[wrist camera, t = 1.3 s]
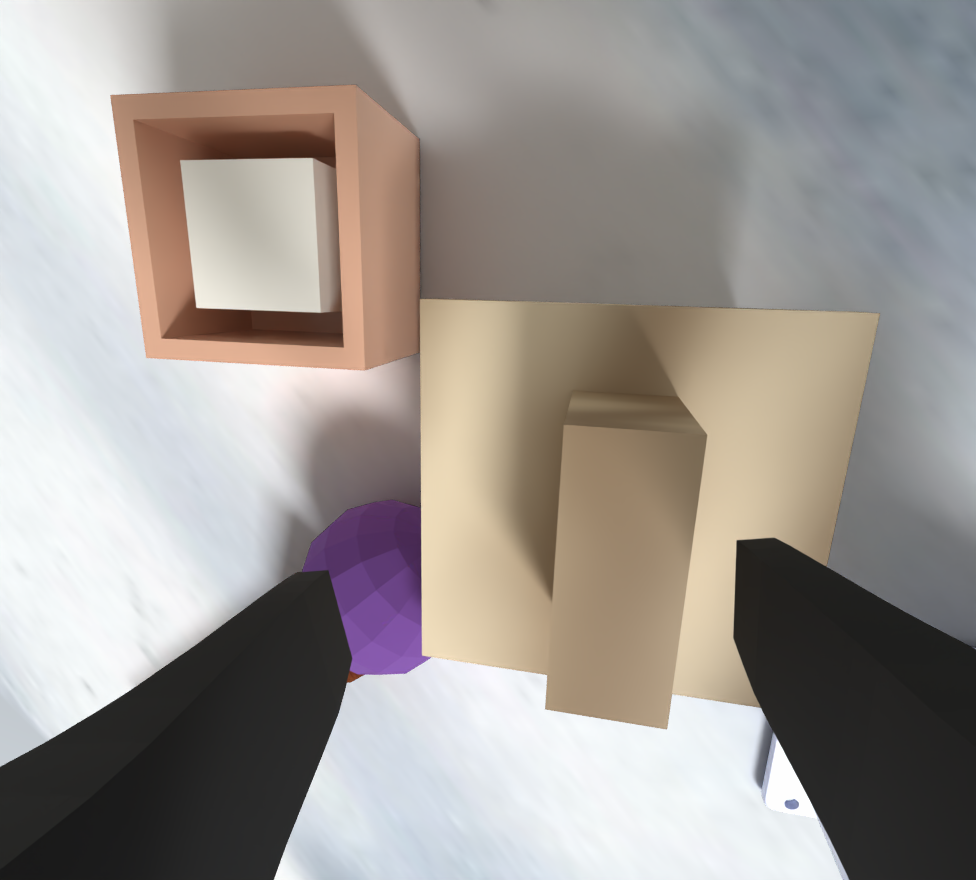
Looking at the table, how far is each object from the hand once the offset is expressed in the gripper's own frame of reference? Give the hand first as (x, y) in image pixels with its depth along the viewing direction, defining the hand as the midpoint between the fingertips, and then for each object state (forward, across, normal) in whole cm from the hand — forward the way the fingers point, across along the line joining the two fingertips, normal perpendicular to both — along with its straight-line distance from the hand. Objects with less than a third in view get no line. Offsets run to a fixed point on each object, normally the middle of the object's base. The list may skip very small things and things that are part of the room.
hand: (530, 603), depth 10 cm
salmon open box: (+12, +7, -6) cm, 15 cm away
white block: (+12, +7, -6) cm, 15 cm away
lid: (+5, -2, +1) cm, 6 cm away
